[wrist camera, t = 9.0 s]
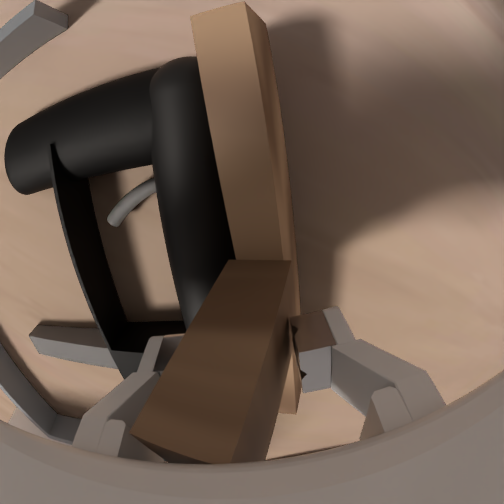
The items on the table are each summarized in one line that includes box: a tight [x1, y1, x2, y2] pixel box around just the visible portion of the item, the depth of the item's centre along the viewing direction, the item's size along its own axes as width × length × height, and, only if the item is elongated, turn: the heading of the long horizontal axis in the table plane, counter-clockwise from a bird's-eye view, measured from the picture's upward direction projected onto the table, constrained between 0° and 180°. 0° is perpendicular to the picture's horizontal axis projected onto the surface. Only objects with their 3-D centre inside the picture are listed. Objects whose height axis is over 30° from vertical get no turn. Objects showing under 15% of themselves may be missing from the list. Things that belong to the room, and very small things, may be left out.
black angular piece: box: [5, 57, 236, 380], centre depth 12 cm, size 3×20×16 cm
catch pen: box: [0, 0, 166, 461], centre depth 12 cm, size 30×18×3 cm, turn 10°
